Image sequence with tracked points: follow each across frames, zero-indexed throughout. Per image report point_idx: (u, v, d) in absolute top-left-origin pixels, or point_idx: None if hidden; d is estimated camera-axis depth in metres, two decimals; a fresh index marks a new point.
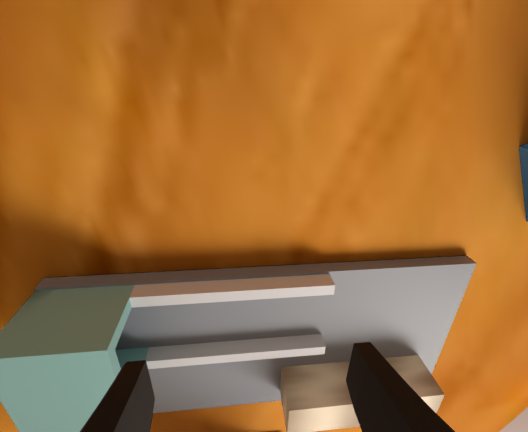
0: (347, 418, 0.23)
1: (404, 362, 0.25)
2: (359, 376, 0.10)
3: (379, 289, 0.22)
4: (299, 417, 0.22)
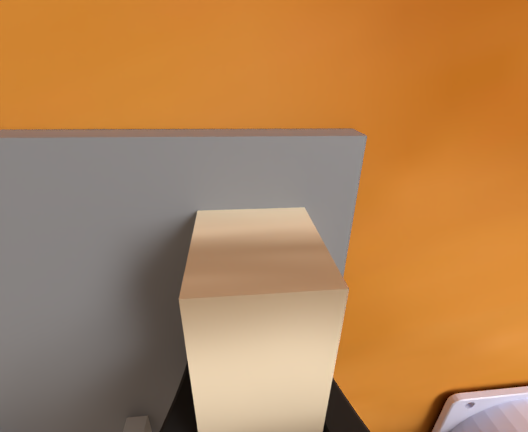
0: None
1: None
2: None
3: None
4: None
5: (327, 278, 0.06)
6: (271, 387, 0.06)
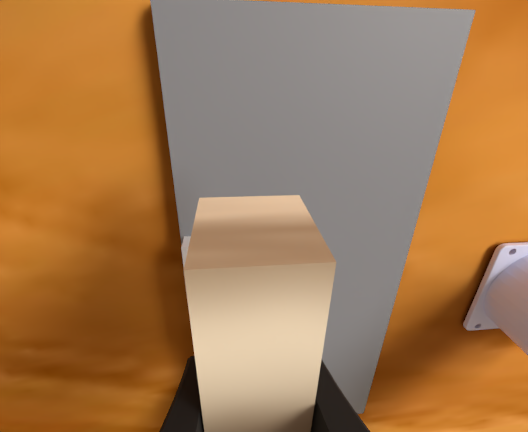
0: None
1: None
2: None
3: (210, 168, 0.15)
4: None
5: (317, 253, 0.06)
6: (267, 355, 0.07)
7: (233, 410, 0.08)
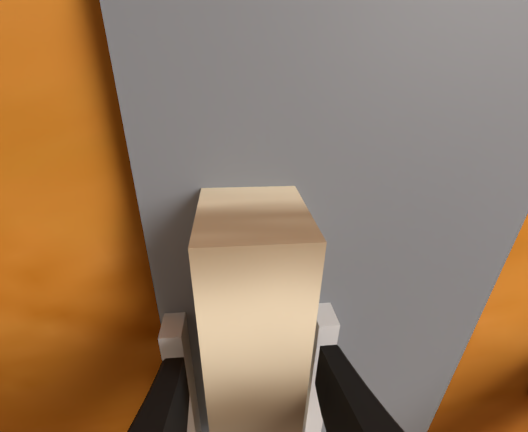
0: None
1: None
2: (324, 379, 0.10)
3: None
4: None
5: (309, 235, 0.07)
6: (264, 331, 0.08)
7: (233, 384, 0.08)
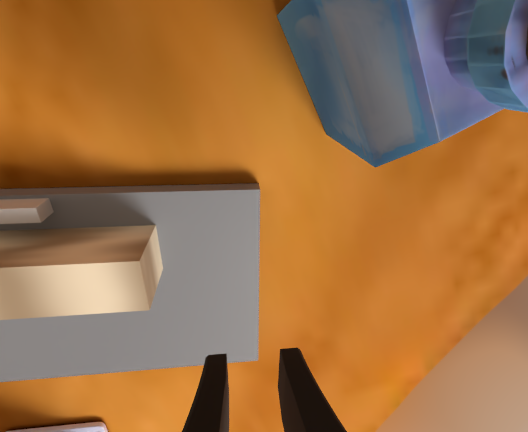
0: None
1: (122, 231, 0.16)
2: (283, 383, 0.10)
3: (133, 224, 0.17)
4: None
5: (150, 301, 0.15)
6: (88, 293, 0.14)
7: (37, 280, 0.14)
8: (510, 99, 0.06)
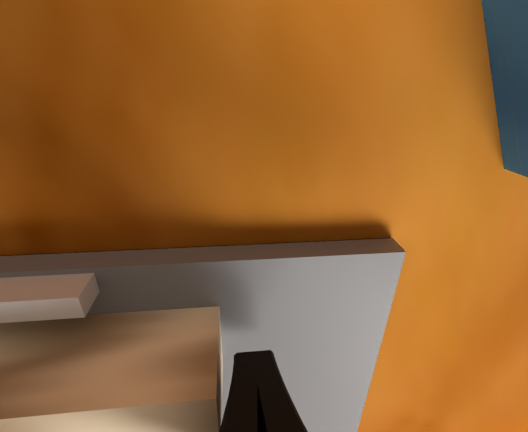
0: None
1: (172, 320, 0.10)
2: None
3: (216, 303, 0.11)
4: None
5: None
6: None
7: None
8: None
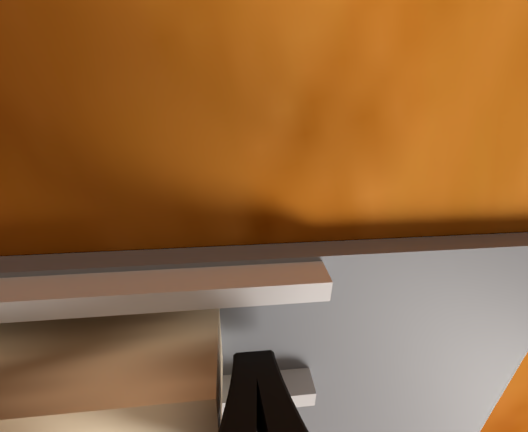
0: None
1: (172, 321, 0.10)
2: None
3: (413, 290, 0.12)
4: None
5: None
6: None
7: None
8: None
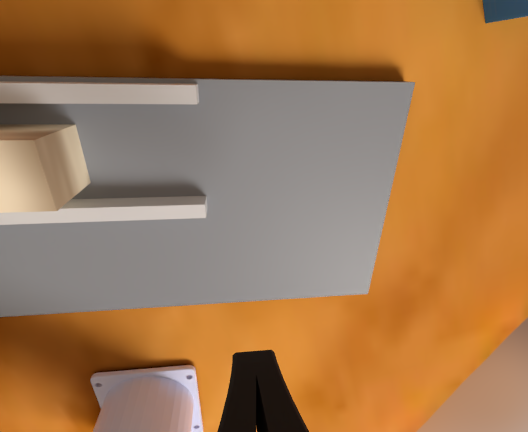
0: None
1: (32, 126, 0.14)
2: None
3: (278, 120, 0.15)
4: None
5: (58, 201, 0.13)
6: None
7: None
8: None
